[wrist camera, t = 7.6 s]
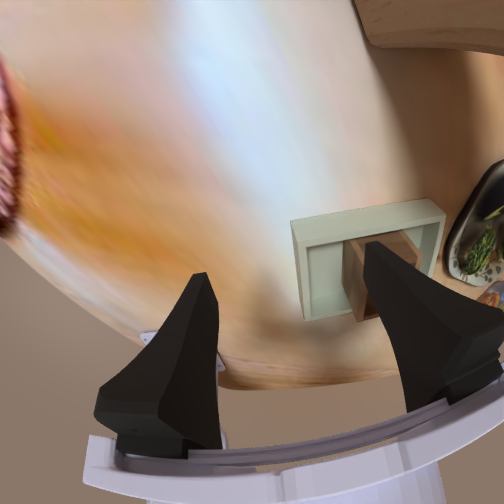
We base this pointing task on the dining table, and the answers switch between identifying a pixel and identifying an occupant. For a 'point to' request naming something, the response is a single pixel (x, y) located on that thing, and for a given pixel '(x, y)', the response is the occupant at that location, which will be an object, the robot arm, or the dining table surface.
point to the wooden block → (434, 24)
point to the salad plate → (479, 232)
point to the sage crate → (347, 227)
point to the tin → (494, 295)
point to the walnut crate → (355, 263)
